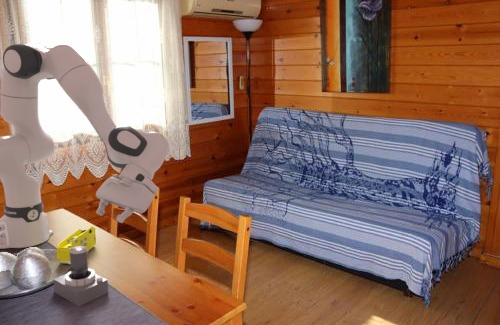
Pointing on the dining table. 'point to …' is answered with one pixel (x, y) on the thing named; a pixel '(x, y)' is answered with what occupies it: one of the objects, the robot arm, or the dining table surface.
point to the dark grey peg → (79, 262)
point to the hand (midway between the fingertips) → (108, 218)
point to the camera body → (81, 287)
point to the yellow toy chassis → (76, 243)
